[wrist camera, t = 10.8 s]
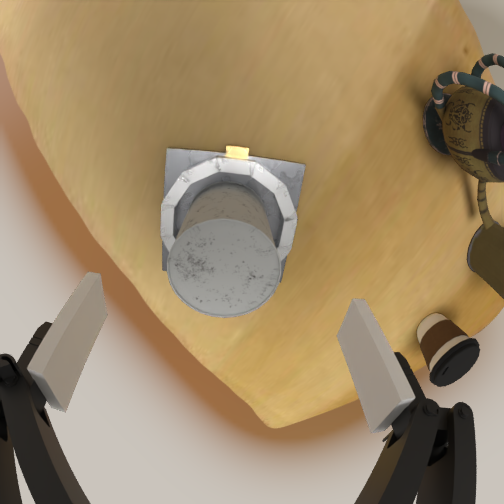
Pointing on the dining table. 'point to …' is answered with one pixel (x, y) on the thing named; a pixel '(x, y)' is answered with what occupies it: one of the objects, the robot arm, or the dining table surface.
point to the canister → (488, 256)
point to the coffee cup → (446, 349)
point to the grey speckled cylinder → (224, 253)
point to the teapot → (470, 125)
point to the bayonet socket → (235, 170)
